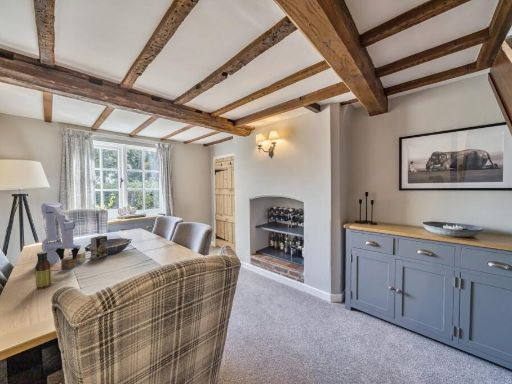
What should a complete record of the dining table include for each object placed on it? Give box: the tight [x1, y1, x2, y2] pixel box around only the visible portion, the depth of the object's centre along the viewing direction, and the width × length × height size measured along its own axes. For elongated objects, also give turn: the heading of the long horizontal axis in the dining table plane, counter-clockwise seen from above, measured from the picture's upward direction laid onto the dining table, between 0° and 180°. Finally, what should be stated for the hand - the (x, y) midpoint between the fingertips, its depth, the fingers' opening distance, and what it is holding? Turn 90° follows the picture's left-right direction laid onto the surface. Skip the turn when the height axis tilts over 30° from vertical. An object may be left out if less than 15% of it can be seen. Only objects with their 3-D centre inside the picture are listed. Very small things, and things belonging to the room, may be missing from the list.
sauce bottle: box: [34, 251, 52, 290], centre depth 120 cm, size 6×6×20 cm
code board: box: [51, 259, 91, 273], centre depth 150 cm, size 17×22×1 cm
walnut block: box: [60, 256, 75, 270], centre depth 145 cm, size 5×5×7 cm
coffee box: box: [90, 235, 108, 260], centre depth 169 cm, size 9×6×16 cm
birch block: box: [75, 251, 86, 264], centre depth 156 cm, size 5×5×7 cm
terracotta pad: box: [50, 265, 61, 271], centre depth 145 cm, size 8×8×1 cm
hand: (68, 259), depth 145 cm, fingers open, 7 cm apart
